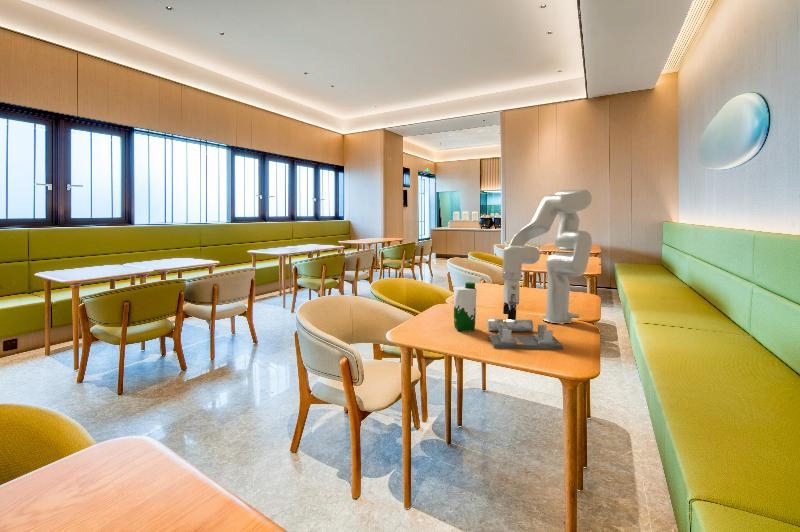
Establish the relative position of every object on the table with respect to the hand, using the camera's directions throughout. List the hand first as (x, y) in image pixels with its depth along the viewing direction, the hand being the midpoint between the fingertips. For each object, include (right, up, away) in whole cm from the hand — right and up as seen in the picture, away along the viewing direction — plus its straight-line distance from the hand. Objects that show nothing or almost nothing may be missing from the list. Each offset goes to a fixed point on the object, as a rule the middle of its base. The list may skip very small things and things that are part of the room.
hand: (509, 316), depth 171 cm
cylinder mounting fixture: (+1, -8, -16) cm, 18 cm away
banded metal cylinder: (+1, -4, +1) cm, 4 cm away
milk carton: (-18, -6, +4) cm, 20 cm away
